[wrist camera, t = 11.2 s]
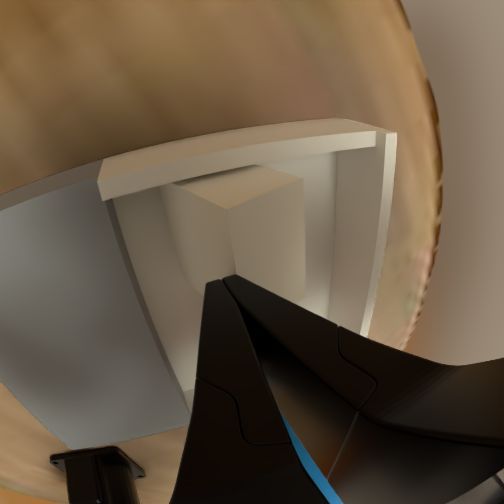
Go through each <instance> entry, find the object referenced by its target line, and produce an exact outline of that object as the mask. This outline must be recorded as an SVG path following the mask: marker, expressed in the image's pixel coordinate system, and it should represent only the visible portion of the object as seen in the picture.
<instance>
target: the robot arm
mask: <svg viewBox="0 0 504 504" xmlns="http://www.w3.org/2000/svg"><path fill="white" fill-rule="evenodd" d="M279 409H280V411H281V413H282V414H283V416H284V417H285V419H286V420H287V422H288V423H289V425H290V427H291V428H292V430H293V431H294V433H295V434H296V436H297V437H298V439H299V440H300V442H301V443H302V445H303V446H304V448H305V449H306V451H307V452H308V454H309V455H310V457H311V458H312V460H313V461H314V462H315V464H316V465H317V467H318V468H319V470H320V471H321V473H322V474H323V475H324V477H325V478H326V479H327V481H328V483H329V484H330V486H331V487H332V488H333V490H334V491H335V493H336V494H337V495H338V497H339V498H340V500H341V501H342V502H343V504H504V358H500V359H495V360H490V361H485V362H480V363H475V364H469V365H462V366H454V365H446V364H441V363H437V362H434V361H430V360H428V359H424V358H422V357H419V356H416V355H413V354H409V353H407V352H404V351H401V350H398V349H395V348H392V347H389V346H387V345H384V344H381V343H379V342H376V341H373V340H371V339H369V338H366V337H364V336H362V335H360V334H357V333H355V332H353V331H351V330H349V329H346V328H344V327H342V326H338V325H337V324H336V323H334V322H332V321H330V320H328V319H326V318H323V317H321V316H319V315H317V314H315V313H313V312H311V311H309V310H307V309H305V308H303V307H301V306H299V305H297V304H295V303H293V302H291V301H289V300H287V299H285V298H283V297H281V296H279V295H277V294H275V293H273V292H271V291H269V290H267V289H265V288H263V287H261V286H259V285H257V284H255V283H253V282H251V281H249V280H247V279H245V278H243V277H241V276H239V275H237V274H233V275H230V276H227V277H223V278H222V280H221V279H216V280H213V281H210V282H207V283H206V284H205V291H204V299H203V308H202V318H201V327H200V337H199V347H198V357H197V368H196V380H195V388H194V397H193V406H192V413H191V418H190V423H189V428H188V433H187V437H186V442H185V446H184V450H183V454H182V459H181V463H180V467H179V471H178V476H177V480H176V484H175V488H174V491H173V494H172V498H171V500H170V503H169V504H330V503H329V501H328V500H327V499H326V497H325V496H324V495H323V493H322V492H321V490H320V489H319V488H318V486H317V485H316V484H315V482H314V481H313V479H312V478H311V476H310V475H309V474H308V472H307V471H306V469H305V468H304V466H303V464H302V462H301V460H300V458H299V456H298V454H297V452H296V450H295V447H294V445H293V444H292V440H291V438H290V435H289V433H288V430H287V428H286V426H285V423H284V421H283V418H282V416H281V413H280V411H279ZM50 463H51V464H53V465H54V466H55V467H57V468H58V469H60V470H61V471H63V472H64V473H65V475H66V484H67V492H68V500H69V504H140V502H139V498H138V494H137V490H136V486H135V482H134V479H140V478H144V477H146V475H145V472H144V471H143V470H142V469H141V468H139V467H138V466H137V465H136V464H135V463H134V462H132V461H131V460H130V459H129V458H128V457H127V456H126V455H125V454H123V453H122V452H121V451H120V450H119V449H117V448H107V449H102V450H96V451H90V452H83V453H76V454H68V455H60V456H51V457H50Z"/></svg>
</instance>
